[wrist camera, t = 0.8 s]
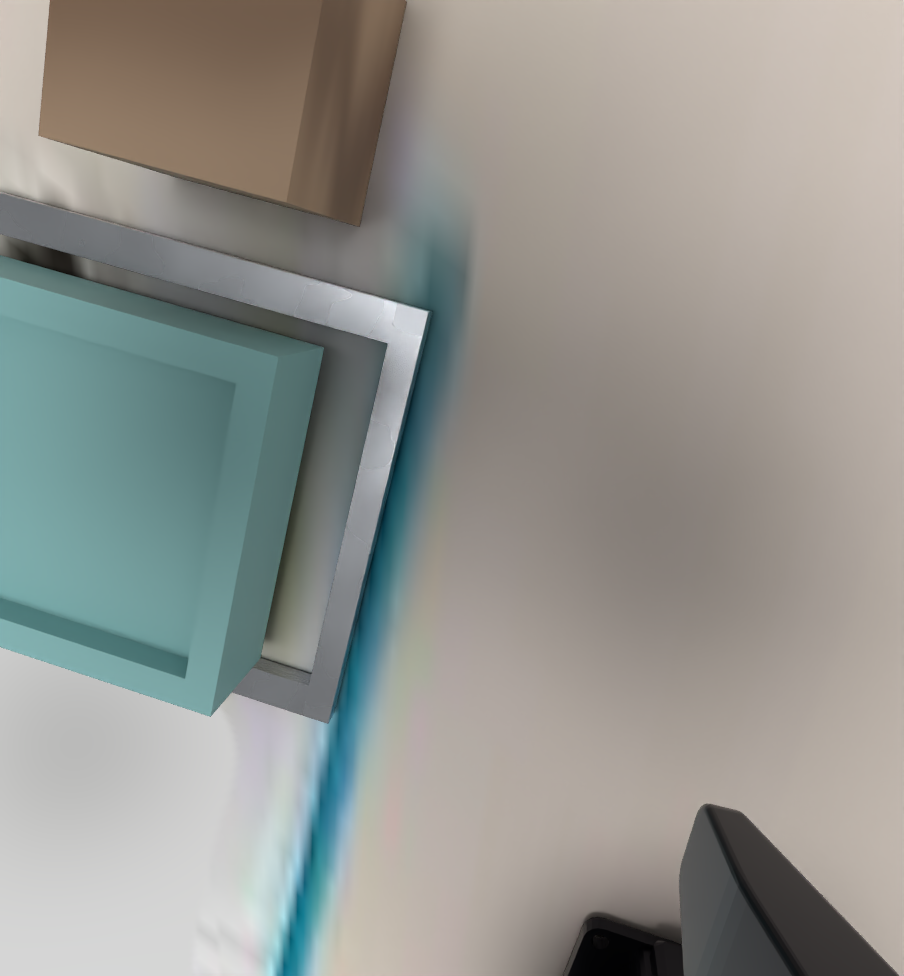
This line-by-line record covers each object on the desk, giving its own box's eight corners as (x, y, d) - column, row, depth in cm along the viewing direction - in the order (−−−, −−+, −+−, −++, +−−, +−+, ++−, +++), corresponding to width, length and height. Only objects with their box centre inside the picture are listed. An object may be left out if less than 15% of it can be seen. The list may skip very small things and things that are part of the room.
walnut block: (360, 227, 18) (286, 202, 13) (174, 176, 19) (38, 135, 14) (407, 3, 17) (343, -114, 12) (205, -46, 17) (65, -178, 12)
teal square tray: (270, 646, 21) (210, 716, 18) (-8, 557, 22) (-120, 607, 19) (333, 345, 19) (278, 356, 15) (17, 255, 20) (-107, 246, 16)
